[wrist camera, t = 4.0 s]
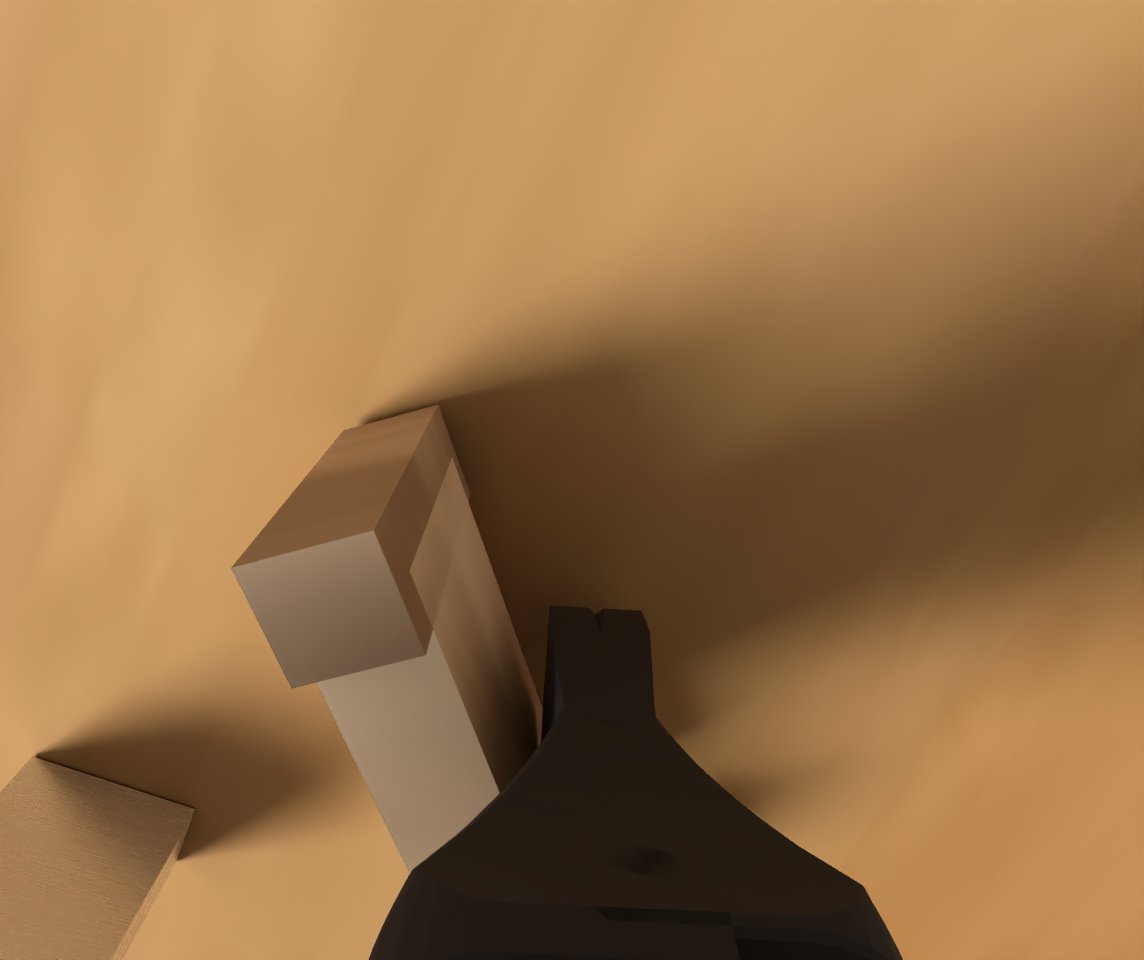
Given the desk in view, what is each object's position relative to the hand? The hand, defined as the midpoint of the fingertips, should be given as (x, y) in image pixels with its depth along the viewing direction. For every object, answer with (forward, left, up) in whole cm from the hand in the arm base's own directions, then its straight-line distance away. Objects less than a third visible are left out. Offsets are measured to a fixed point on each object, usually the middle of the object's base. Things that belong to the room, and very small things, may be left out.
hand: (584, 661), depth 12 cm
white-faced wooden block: (-7, +6, -1) cm, 10 cm away
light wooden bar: (-1, +2, -1) cm, 2 cm away
